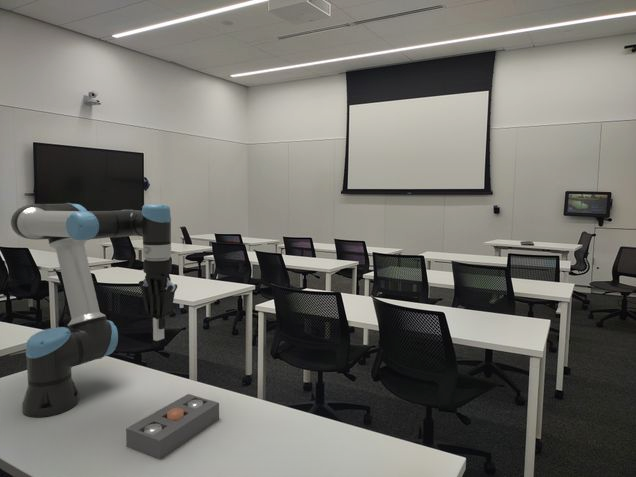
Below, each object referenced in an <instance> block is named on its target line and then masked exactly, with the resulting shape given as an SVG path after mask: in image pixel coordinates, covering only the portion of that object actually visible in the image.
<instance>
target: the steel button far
mask: <svg viewBox="0 0 636 477" xmlns="http://www.w3.org/2000/svg"><path fill="white" fill-rule="evenodd" d="M201 405H203V401H202V400H191V401H189V402H188V407H192V408H195V409H197V408H198V407H200V406H201Z"/></svg>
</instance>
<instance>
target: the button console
mask: <svg viewBox="0 0 636 477" xmlns="http://www.w3.org/2000/svg"><path fill="white" fill-rule="evenodd" d="M191 400H202V401H203V405H201V406H200V407H198V408H197V409H195V408H192V407H188V402H189V401H191ZM173 408H182V409H183V410H184V416H183V417H182V418H180V419H179V420H177V421H173V420H170V419H167V411H168V410H170V409H173ZM218 420H220V402H219V401H218V402H217V401H214V400H210V399H208V398H203V397H201V396H197V395H193V394H190V393H187V394H186V395H184V396H182V397H180V398H178V399H176V400H175V401H173V402H171V403H169V404H167V405H165V406H164V407H162V408H160V409H158V410H157V411H154V412H153V413H151V414H149V415H148V416H146V417H144V418H142V419H141V420H139V421H137V422H135V423H133V424H132V425H129V426H128V427H126V428H125V432H126V435H125V436H126V438H125V440H126V443H125V444H126V447H128V448H130V449H132V450H135V451H137V452H139V453H142V454H145V455H147V456H150V457H153V458H155V459H157V460H161V459H163V458H164V457H165V456H168V454H171V453H172V451H174V450H176V449H177V448H179V447H180V446H182V445H183V444H185V443H186V442H187V441H189V440H191V439H192V438H193V437H195V436H196V435H199V433H201V432H202V431H203V430H205V429H207V428H208V427H209V426H212V425H213V424H214V423H215V422H217V421H218ZM151 424H160V425H161V426H162V430H160V431H159V432H157V433H156V434H154V435H150V434H147V433H144V428H145V427H146V426H148V425H151Z"/></svg>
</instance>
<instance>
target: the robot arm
mask: <svg viewBox="0 0 636 477" xmlns="http://www.w3.org/2000/svg"><path fill="white" fill-rule="evenodd" d="M141 208H142V209H141V210H136V209H135V210H134V209H121V210H95V211H94V210H93V211H92V210H90V211H88V210H87V209H86V208H85V207H84V206H83V205H81V204H78V203H71V202H65V203H32V204H28V205H23V206H22V207H19V208H18V209H16V210H15V212H13V214H12V216H11V218H10V226H11V228H12V230H13V231H14V233H15V234H16V235H17V236H19V237H20V238H23V239H26V240H48V244H49V247H50V248H53V249H54V250H55V251H56V255H57V256H56V257H57V261H58V266H59V270H60V273H61V278H62V282H63V286H64V292H65V296H66V300H67V304H68V310H69V313H70V318H71V320H70V321H69V323H67V327H65V326H59V327H54V328H53V327H52V328H51V327H50V328H47V329H44V330H41V331H38V332H36V333H34V334H33V335H31V336H30V337H28V339H27V341H26V346H25V348H26V349H25V356H26V370H27V389H26V391H25V394H24V398H23V401H22V403H21V404H22V409H21V410H22V411H21V412H22V413H23V414H24V415H25V416H27V417H29V418H30V417H31V418H43V417H45V418H46V417H50V416H54V415H55V416H56V415H59V414H62V413H65V412H67V411H69V410H71V409H73V408H74V407H76V406H77V404H78V403H79V400H80V396H79V395H80V394H79V391H78V389H77V386H76V384H75V383H74V380H73V377H72V376H73V375H72V368H74V367H77V366H80V365H84V364H86V363H89V362H93V361H96V360H100V359H103V358H104V357H107V356H109V355H111V354H112V353H114V352H115V350H116V349H117V346H118V342H119V332H118V328H117V326H116V325H115V323H114V322H113V321H112V320H108V319H107V316H106V314H104V313H102V312H101V311H100V307H99V302H98V299H97V293H96V290H95V286H94V285H95V284H94V282H93V277H92V273H91V268H90V264H89V260H88V256H87V251H86V246H85V244H86V243H87V241H90V240H97V239H98V240H100V239H108V238H109V239H110V238H123V237H142V251H143V252H142V256H143V259H144V260H143V262H142V263H143V264H142V265H143V273H144V274H145V276H144V279H143V280H139V282H138V285H139V287H140V289H141V294H142V299H143V305H144V309H145V313H146V315H150V317H151V327H152V329H153V331H152V337H153V338H152V339H153V341H155V342H158V341H161V340H164V339H165V329H166V318H167V317H169V316H171V315H172V310H173V305H174V301H175V300H174V299H175V292H177V289H178V284H176V283H175V284H173V282H172V281H171V277H170V273H171V272H172V259H171V258H172V228H171V227H172V217H171V208H170V206H169V205H168V204H155V203H154V204H153V203H152V204H150V203H149V204H147V203H146V204H144V205H142V207H141Z"/></svg>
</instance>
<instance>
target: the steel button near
mask: <svg viewBox="0 0 636 477" xmlns="http://www.w3.org/2000/svg"><path fill="white" fill-rule="evenodd" d="M160 430H162V426H161V425H160V424H151V425H148V426H146V427H145V428H144V433H147V434H150V435H154V434H156V433H157V432H159V431H160Z"/></svg>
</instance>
